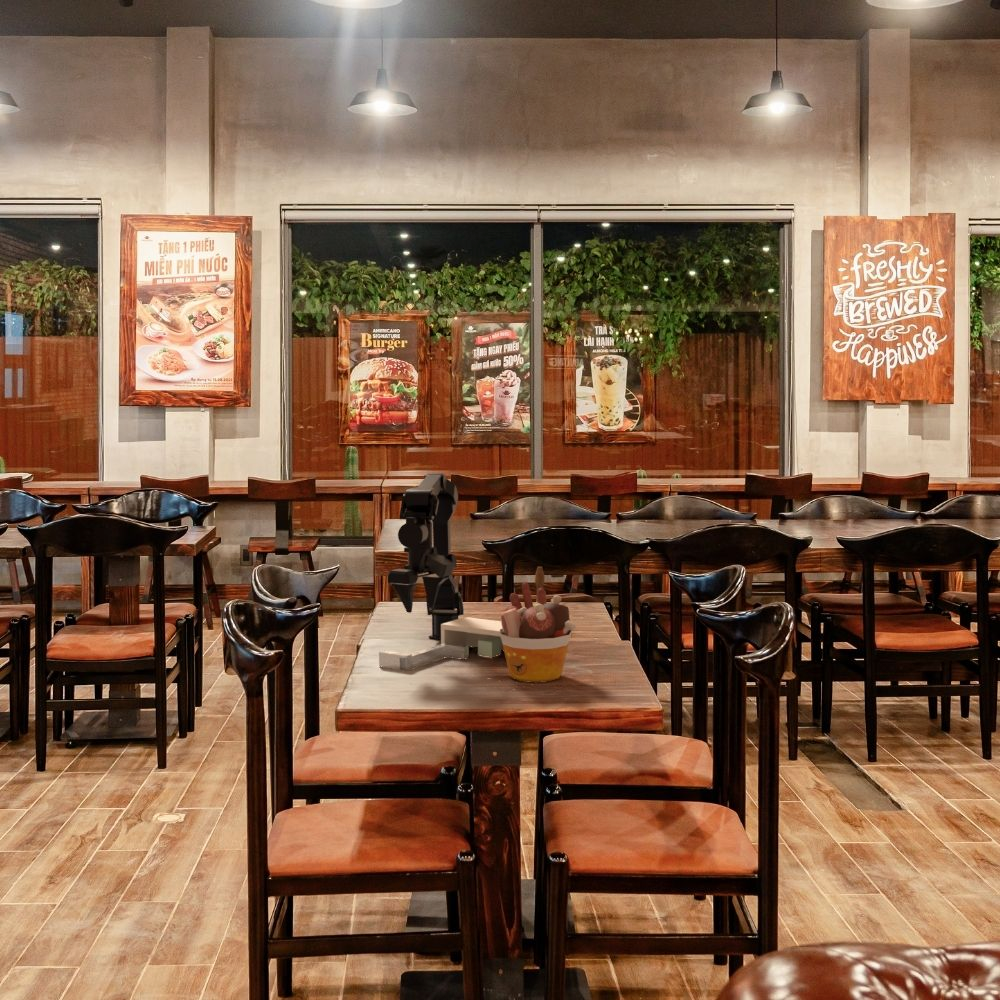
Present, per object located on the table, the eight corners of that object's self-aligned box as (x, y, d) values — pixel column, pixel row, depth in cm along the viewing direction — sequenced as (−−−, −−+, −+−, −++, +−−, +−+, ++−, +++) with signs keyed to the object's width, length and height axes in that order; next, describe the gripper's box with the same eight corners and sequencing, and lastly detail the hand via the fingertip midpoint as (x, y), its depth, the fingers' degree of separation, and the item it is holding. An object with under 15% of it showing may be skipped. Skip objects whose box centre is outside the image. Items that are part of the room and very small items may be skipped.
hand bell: (557, 622, 319) (557, 565, 317) (549, 627, 311) (549, 569, 310) (529, 620, 322) (529, 563, 320) (520, 626, 314) (520, 568, 312)
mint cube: (478, 656, 278) (477, 640, 277) (486, 653, 281) (486, 637, 281) (492, 658, 275) (491, 642, 275) (500, 655, 279) (500, 639, 278)
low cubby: (441, 653, 281) (440, 624, 280) (465, 645, 290) (464, 617, 289) (511, 662, 270) (510, 632, 270) (533, 654, 279) (533, 625, 279)
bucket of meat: (582, 685, 249) (582, 594, 247) (507, 689, 246) (507, 597, 244) (560, 664, 268) (560, 580, 267) (490, 668, 265) (490, 582, 264)
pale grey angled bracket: (379, 666, 267) (378, 652, 267) (424, 652, 282) (424, 638, 282) (424, 673, 260) (424, 658, 260) (468, 658, 276) (468, 643, 275)
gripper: (426, 549, 255) (426, 618, 256) (470, 541, 271) (471, 606, 272) (385, 546, 261) (386, 614, 262) (431, 538, 277) (431, 602, 278)
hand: (420, 609), depth 268 cm, fingers open, 9 cm apart
